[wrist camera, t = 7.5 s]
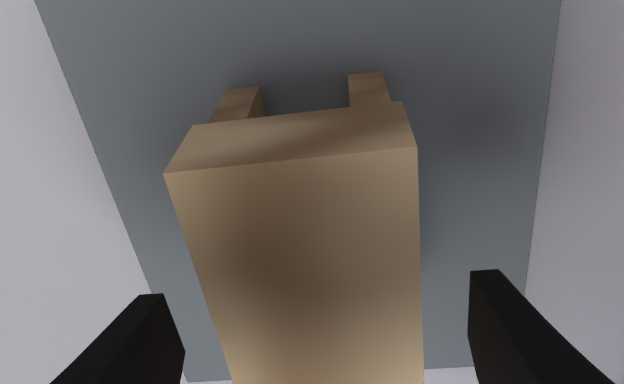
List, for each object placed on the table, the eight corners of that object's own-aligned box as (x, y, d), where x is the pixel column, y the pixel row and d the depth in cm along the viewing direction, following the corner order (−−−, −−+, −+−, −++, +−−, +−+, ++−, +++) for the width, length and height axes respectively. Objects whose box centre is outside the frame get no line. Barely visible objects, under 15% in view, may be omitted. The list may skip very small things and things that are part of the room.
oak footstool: (389, 63, 14) (417, 146, 9) (401, 277, 18) (424, 410, 13) (217, 84, 14) (162, 173, 10) (267, 288, 18) (245, 419, 14)
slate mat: (509, 348, 21) (515, 364, 20) (192, 367, 22) (187, 382, 21) (568, -173, 11) (583, -178, 11) (18, -86, 13) (0, -85, 12)
